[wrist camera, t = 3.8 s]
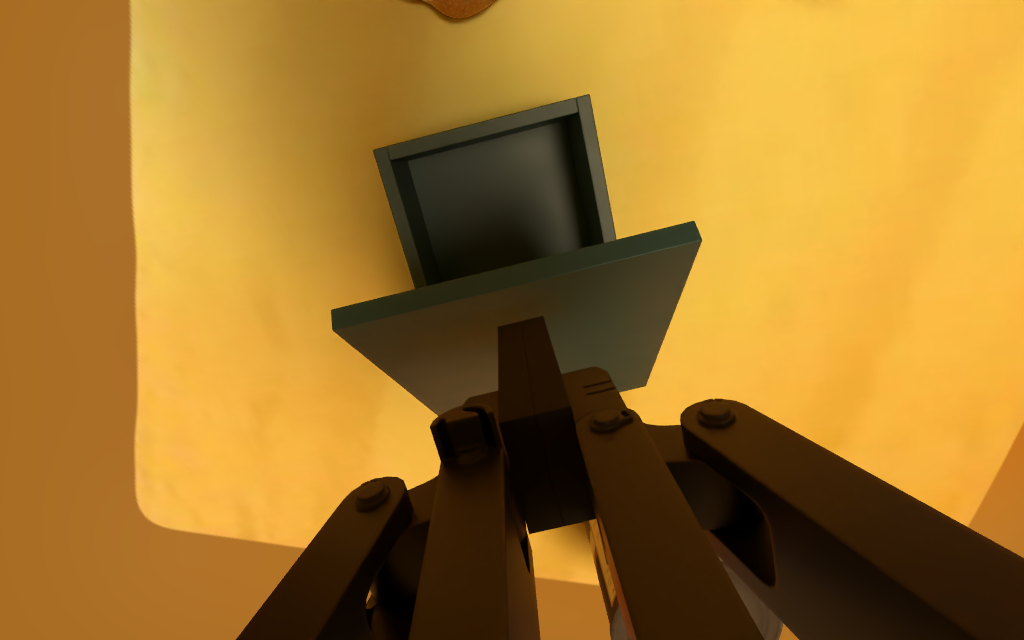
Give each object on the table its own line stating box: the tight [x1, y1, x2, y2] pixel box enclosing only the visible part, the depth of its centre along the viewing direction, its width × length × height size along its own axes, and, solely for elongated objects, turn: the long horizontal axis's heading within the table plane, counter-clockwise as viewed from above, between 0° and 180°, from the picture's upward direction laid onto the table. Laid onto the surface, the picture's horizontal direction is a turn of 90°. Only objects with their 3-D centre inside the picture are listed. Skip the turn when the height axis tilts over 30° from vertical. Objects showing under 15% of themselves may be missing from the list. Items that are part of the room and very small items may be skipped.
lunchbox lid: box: [331, 221, 702, 416], centre depth 26 cm, size 18×13×1 cm
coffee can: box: [584, 519, 783, 640], centre depth 38 cm, size 10×10×14 cm
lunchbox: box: [373, 94, 616, 289], centre depth 35 cm, size 18×13×7 cm
